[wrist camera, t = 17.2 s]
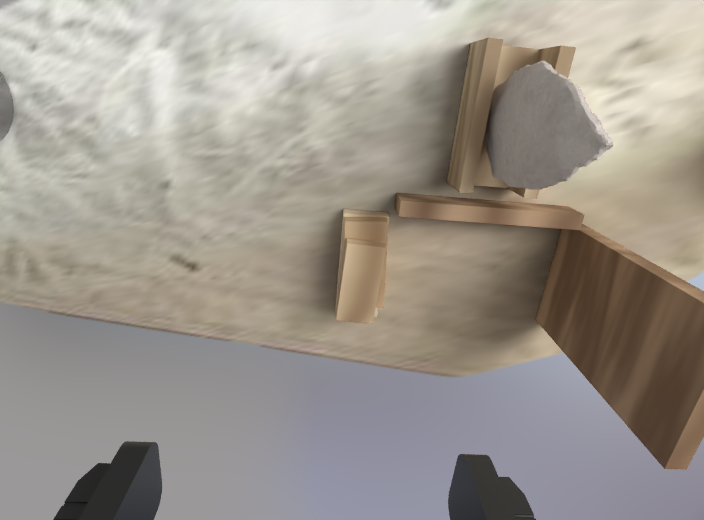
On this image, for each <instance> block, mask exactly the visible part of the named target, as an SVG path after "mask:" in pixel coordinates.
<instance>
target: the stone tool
mask: <svg viewBox="0 0 704 520" xmlns="http://www.w3.org/2000/svg"><path fill="white" fill-rule="evenodd" d="M484 142H485V148H486V151H487V154H488V157H489V162H490V166H491V171H492V174H493V177H496V178H498V179H499V180H500V181H502V182H504V183H506V184H507V186H509V187H516V188H519V187H520V188H521V187H523V188H527V189H530V190H531V189H532V190H538V189H543V188H546V187H549V186H553V185H556V184H558V183H559V182H562V181H568V179H569V178H570V177H571V176H572V175H573V174H575V173H576V172H577V171H578V169H579V167H583V166H587V165H588V164H590V163H591V162H593V161H594V160H599V158H600V156H601V155H602V154H603V153H604V152H605V151H606V150H608V149H610V148H611V147H612V146H613V144H612V143H613V142H612V140H611V138H610V137H609V136H608V134H607V133H605V130H604V129H603V127H602V124H601V122H600V120H598V118H597V116H596V115H595V114H594V113H592V112H591V109H590V107H589V105H588V103H587V102H586V101H585V97H584V96H583V94H582V91H581V90H580V89H579V87H577V86H576V85H575V84H574V83H573V82H572V81H571V80H570V79H568V78H567V77H564V75H560V74H558V73H557V71H556V70H554V69H553V68H552V65H550V64H548V63H547V62H545V61H540V62H537V63H535V64H533V65H528V64H527V65H526V66H525V67H523V68H520V69H519V71H518V70H515V71H514V72H513V73H512V75H510V77H509V78H508V79H506V81H505V82H503V83H502V84H499V85H498V86H497V87H496V88H495V89H494V91H493V94H492V99H491V104H490V109H489V114H488V119H487V124H486V132H485V138H484Z"/></svg>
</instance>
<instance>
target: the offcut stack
mask: <svg viewBox="0 0 704 520" xmlns="http://www.w3.org/2000/svg"><path fill="white" fill-rule="evenodd" d="M389 218H390V216H389V214H388V212H377V211H364V210H351V209H343V220H342V232H341V244H340V255H339V267H338V279H337V291H336V303H335V315H336V320H339V321H349V322H358V323H368V324H373V319H374V317H377V312H378V308H384V290H385V271H386V253H387V235H388V226H389Z"/></svg>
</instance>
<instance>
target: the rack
mask: <svg viewBox="0 0 704 520" xmlns="http://www.w3.org/2000/svg"><path fill="white" fill-rule="evenodd" d="M395 210H396V212H397V214H398V216H399V217H411V218H425V219H438V220H451V221H464V222H478V223H491V224H504V225H517V226H531V227H544V228H557V229H561V233H560V236H559V240H558V243H557V247H556V250H555V254H554V257H553V261H552V264H551V268H550V271H549V275H548V278H547V282H546V285H545V288H544V292H543V295H542V299H541V302H540V306H539V309H538V313H537V316H536V321H537V322H538V323H539V324H540V325H541V327H542V328H543V329H544V330H545V331H546V332H547V333H548V335H549V336H550V337H551V338H552V339H553V340H554V342H555V343H556V344H557V345H558V346H559V347H560V348H561V350H562V351H563V352H564V353H565V354H566V355H567V357H568V358H569V359H570V360H571V361H572V362H573V364H574V365H575V366H576V367H577V368H578V369H579V370H580V371H581V373H582V374H583V375H584V376H585V377H586V379H587V380H588V381H589V382H590V383H591V384H592V385H593V387H594V388H595V389H596V390H597V391H598V392H599V394H600V395H601V396H602V397H603V398H604V399H605V400H606V402H607V403H608V404H609V405H610V406H611V407H612V409H613V410H614V411H615V412H616V413H617V414H618V415H619V417H620V418H621V419H622V420H623V421H624V422H625V424H626V425H627V426H628V427H629V428H630V429H631V431H632V432H633V433H634V434H635V435H636V436H637V437H638V438H639V440H640V441H641V442H642V443H643V444H644V446H645V447H646V448H647V449H648V450H649V451H650V452H651V454H652V455H653V456H654V457H655V458H656V459H657V461H658V462H659V463H660V464H661V465H662V466H663V467H664V469H687V468H688V466H689V464H690V462H691V460H692V458H693V456H694V454H695V452H696V450H697V448H698V446H699V445H700V442H701V441H702V438H703V437H704V291H702V290H700V289H699V288H697V287H695V286H693V285H691V284H690V283H688V282H686V281H684V280H682V279H681V278H679V277H677V276H675V275H673V274H672V273H670V272H668V271H666V270H664V269H663V268H661V267H659V266H657V265H655V264H654V263H652V262H650V261H648V260H646V259H645V258H643V257H641V256H639V255H637V254H636V253H634V252H632V251H630V250H628V249H627V248H625V247H623V246H621V245H619V244H618V243H616V242H614V241H612V240H610V239H609V238H607V237H605V236H603V235H601V234H600V233H598V232H596V231H594V230H592V229H591V228H589V227H587V226H585V225H583V224H582V221H583V218H584V215H583V214H582V213H580V212H578V211H576V210H574V209H572V208H570V207H567V206H555V205H542V204H530V203H517V202H504V201H492V200H479V199H467V198H454V197H442V196H429V195H416V194H404V193H396V200H395Z"/></svg>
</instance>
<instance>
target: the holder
mask: <svg viewBox="0 0 704 520" xmlns="http://www.w3.org/2000/svg"><path fill="white" fill-rule="evenodd" d="M502 44H503V39H494V38H486V39H483V40H479V41H476V42H473V43H470V49H469V55H468V60H467V66H466V72H465V78H464V83H463V89H462V95H461V101H460V106H459V112H458V118H457V124H456V129H455V135H454V141H453V147H452V152H451V158H450V164H449V170H448V175H447V181H446V182H448V183H449V184H450V185H451V186H452V187H454V188H455V189H456V190H457V191H458V192H462V193H473V189H474V185H476V186H488V187H500V188H508V189H510V190H512V191H514V192H515V193H517V194H519V195H520V196H522V197H524V198H536V199H537V196H538V192H539V189H538V190H532V189H531V190H530V189H527V188H523V187H521V188H520V187H519V188H516V187H509V186H507V184H506V183H504V182H502V181H500V180H499V179H498V178H496V177H493V174H492V171H491V166H490V162H489V157H488V154H487V151H486V148H485V142H484V138H485V132H486V124H487V119H488V114H489V109H490V104H491V99H492V94H493V91H494V89H495V88H496V87H497V86H498V85H499V84H502V83H503V82H505V81H506V79H508V78H509V77H510V75H512V73H513V72H514V71H515V70H518V71H519V69H520V68H523V67H525V66H526V65H527V64H528V65H533V64H535V63H537V62H540V61H545V62H547V63H548V64H550V65H552V68H553V69H554V70H556V71H557V73H558V74H560V75H564V77H567V78H568V76H569V72H570V68H571V64H572V60H573V56H574V53H575V49H576V47H568V46H557V47H551V48H545V49H531V48H521V47H512V46H503V45H502Z"/></svg>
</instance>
